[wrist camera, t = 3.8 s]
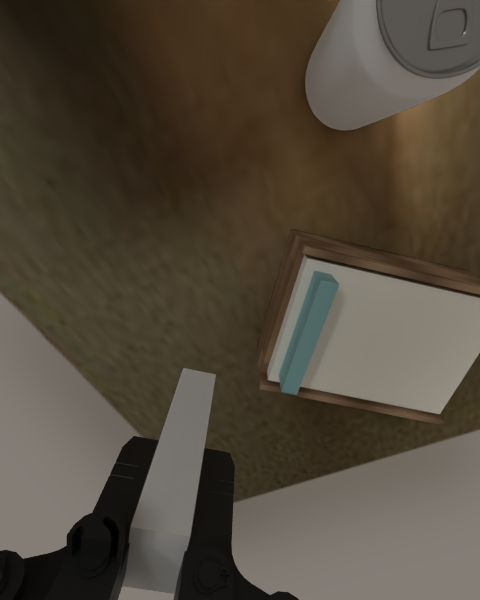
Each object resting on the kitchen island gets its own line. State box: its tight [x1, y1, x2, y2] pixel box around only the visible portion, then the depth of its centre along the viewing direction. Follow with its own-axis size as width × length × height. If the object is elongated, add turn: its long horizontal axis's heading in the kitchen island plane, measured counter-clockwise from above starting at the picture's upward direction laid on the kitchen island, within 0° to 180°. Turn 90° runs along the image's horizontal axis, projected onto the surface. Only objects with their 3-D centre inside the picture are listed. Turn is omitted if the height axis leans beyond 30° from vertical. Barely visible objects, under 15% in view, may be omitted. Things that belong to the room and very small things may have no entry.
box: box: [257, 229, 480, 425], centre depth 25 cm, size 16×12×6 cm
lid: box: [267, 254, 480, 414], centre depth 22 cm, size 15×10×3 cm
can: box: [305, 0, 480, 131], centre depth 16 cm, size 6×6×12 cm
